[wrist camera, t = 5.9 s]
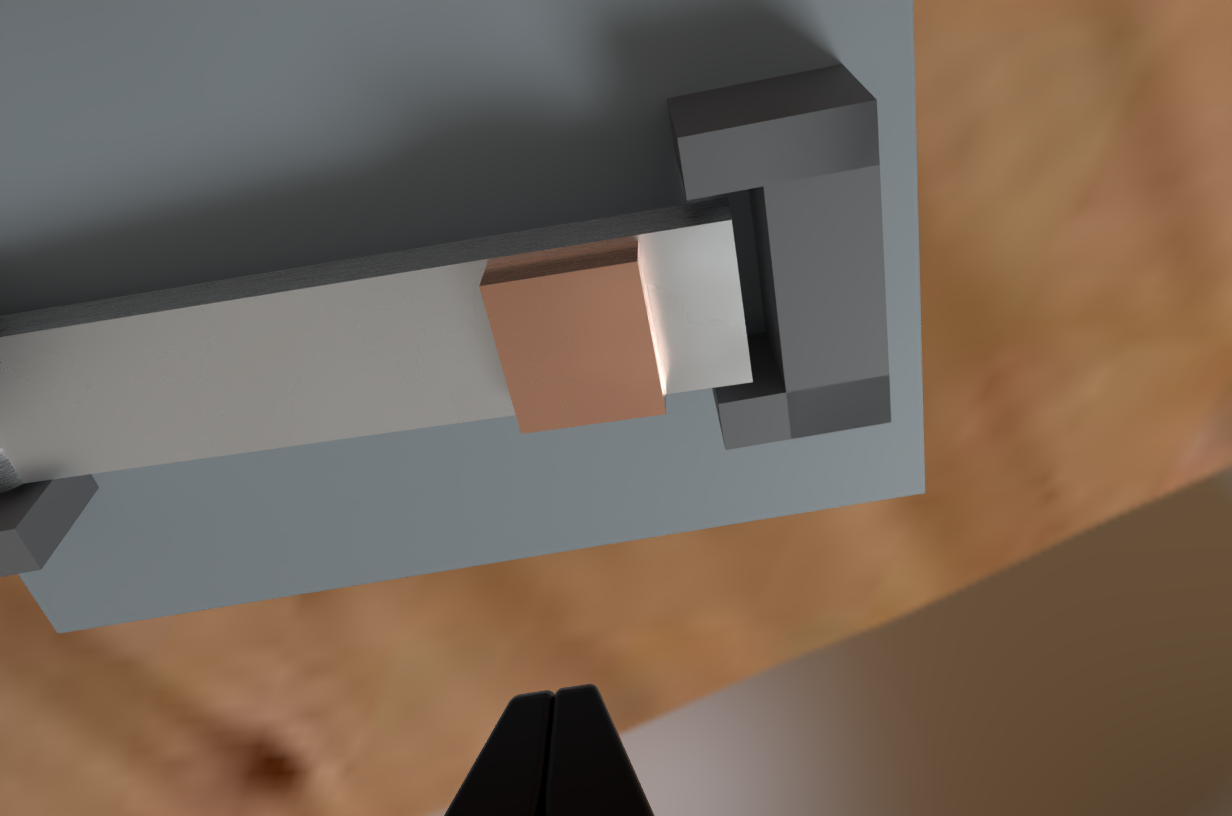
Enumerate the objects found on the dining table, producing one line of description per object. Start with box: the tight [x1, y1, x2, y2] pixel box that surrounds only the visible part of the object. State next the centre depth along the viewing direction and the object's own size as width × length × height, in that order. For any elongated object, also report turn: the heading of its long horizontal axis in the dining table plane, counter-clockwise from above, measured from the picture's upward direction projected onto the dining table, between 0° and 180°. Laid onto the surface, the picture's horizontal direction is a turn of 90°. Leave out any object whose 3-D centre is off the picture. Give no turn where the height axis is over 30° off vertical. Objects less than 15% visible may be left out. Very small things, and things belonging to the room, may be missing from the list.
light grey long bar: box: [0, 197, 753, 494], centre depth 17 cm, size 15×3×2 cm, turn 101°
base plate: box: [0, 0, 925, 633], centre depth 18 cm, size 20×13×4 cm, turn 101°
